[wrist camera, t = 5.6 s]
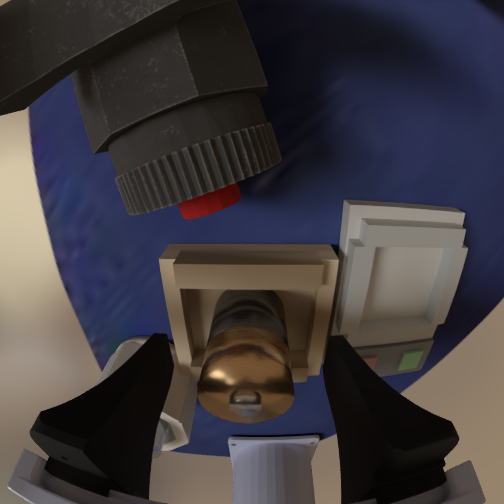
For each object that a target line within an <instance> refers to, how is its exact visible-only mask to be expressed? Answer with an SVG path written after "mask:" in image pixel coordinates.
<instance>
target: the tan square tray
mask: <svg viewBox="0 0 504 504" xmlns="http://www.w3.org/2000/svg"><path fill="white" fill-rule="evenodd" d="M159 263H160V270H161V276H162V282H163V288H164V294H165V299H166V305H167V310H168V315H169V320H170V325H171V330H172V335H173V339H174V344H175V349H176V353H177V357H178V361H179V366H180V370H181V373H186V374H192V378H193V380H195V381H199V379H200V374H201V370H202V365H203V360H204V355H205V351H206V346H207V342H208V337H209V332H210V328H211V323H212V319H213V314H214V310H215V305H216V302H217V300H218V298H219V297H220V296H221V294H222V293H223V292H224V291H226V290H227V289H231V290H272V291H274V292H275V293H276V294H277V295H278V296H279V298H280V299H281V301H282V303H283V306H284V313H285V320H286V328H287V336H288V344H289V353H290V361H291V369H292V378H293V382H306V380H307V376H308V375H319V371H320V367H321V362H322V357H323V352H324V348H325V342H326V337H327V332H328V327H329V321H330V315H331V310H332V304H333V297H334V291H335V284H336V278H337V270H338V263H339V259H338V257H337V255H336V254H335V252H334V250H333V249H332V247H331V245H330V244H169V245H168V247H167V248H166V250H165V251H164V252H163V254H162V255H161V257H160V258H159Z"/></svg>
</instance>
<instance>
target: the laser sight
mask: <svg viewBox="0 0 504 504" xmlns="http://www.w3.org/2000/svg"><path fill="white" fill-rule="evenodd" d="M69 74H71V76H72V80H73V84H74V89H75V93H76V97H77V100H78V104H79V108H80V112H81V115H82V119H83V122H84V126H85V129H86V132H87V135H88V139H89V142H90V145H91V148H92V151H93V154H97V153H101V152H106V151H109V153H110V156H111V159H112V162H113V165H114V168H115V171H116V174H117V177H116V178H115V181H116V183H117V186H118V189H119V191H120V194H121V196H122V199H123V202H124V204H125V207H126V209H127V212H128V214H129V215H136V214H137V215H138V214H141V213H142V214H143V213H146V212H151V211H155V210H158V209H161V208H165V207H167V206H172V205H174V204H177V203H178V206H179V208H180V211H181V214H182V216H183V218H184V219H193V218H198V217H202V216H206V215H209V214H212V213H214V212H217V211H220V210H222V209H225V208H227V207H229V206H230V205H232V204H234V203H236V202H237V201H238V200H240V199H241V198H242V196H241V193H240V190H239V187H238V184H237V182H238V181H241V180H244V179H246V178H248V177H251V176H253V175H255V174H258V173H261V172H262V171H264V170H267V169H268V168H271V167H272V166H274V165H276V164H277V163H279V162H280V161H281V160H282V158H281V154H280V151H279V148H278V144H277V141H276V138H275V134H274V131H273V128H272V125H271V123H267V120H266V117H265V113H264V110H263V107H262V104H261V101H260V98H261V97H264V96H266V92H267V88H268V84H267V81H266V78H265V75H264V72H263V69H262V66H261V63H260V61H259V58H258V55H257V52H256V49H255V47H254V44H253V41H252V39H251V36H250V33H249V31H248V28H247V25H246V23H245V20H244V18H243V15H242V13H241V10H240V8H239V5H238V3H237V0H11V1H9V2H7V3H5V4H4V5H2V6H0V116H1V115H5V114H8V113H13V112H17V111H21V110H25V109H26V108H27V107H28V106H29V105H30V104H32V103H33V102H34V101H35V100H36V99H38V98H39V97H40V96H41V95H43V94H44V93H45V92H46V91H48V90H49V89H50V88H52V87H53V86H54V85H55V84H57V83H58V82H60V81H61V80H62V79H64V78H65V77H66V76H68V75H69Z"/></svg>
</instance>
